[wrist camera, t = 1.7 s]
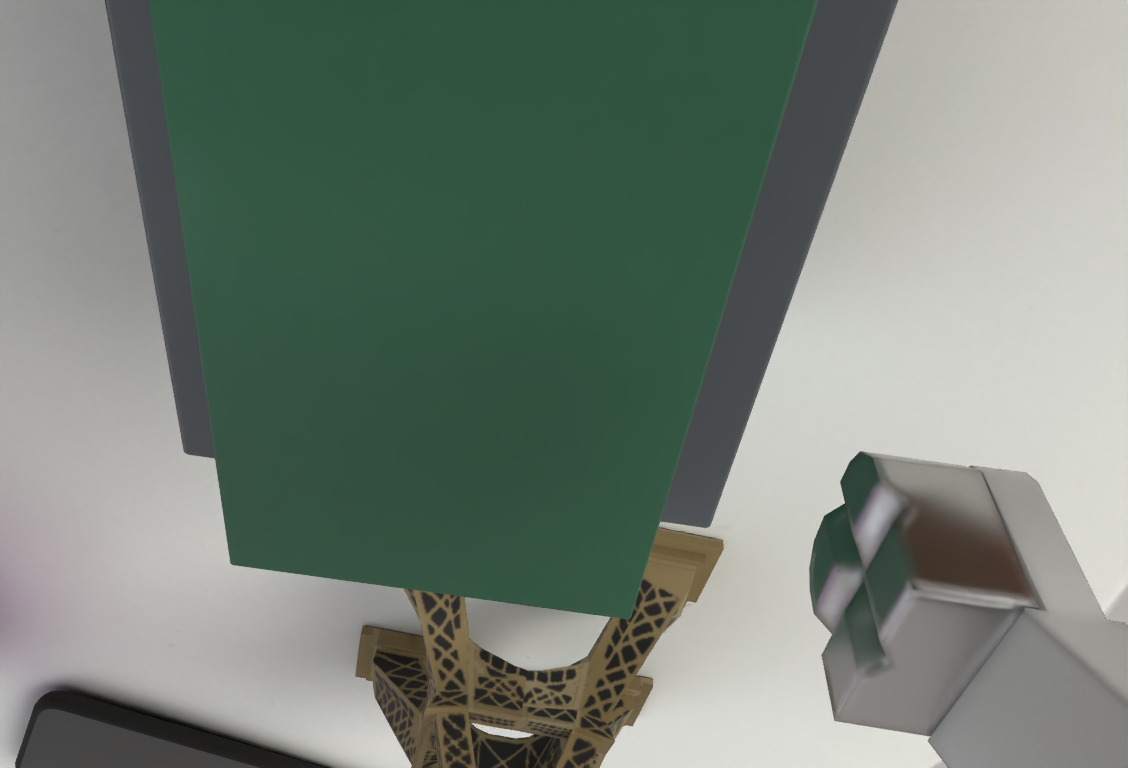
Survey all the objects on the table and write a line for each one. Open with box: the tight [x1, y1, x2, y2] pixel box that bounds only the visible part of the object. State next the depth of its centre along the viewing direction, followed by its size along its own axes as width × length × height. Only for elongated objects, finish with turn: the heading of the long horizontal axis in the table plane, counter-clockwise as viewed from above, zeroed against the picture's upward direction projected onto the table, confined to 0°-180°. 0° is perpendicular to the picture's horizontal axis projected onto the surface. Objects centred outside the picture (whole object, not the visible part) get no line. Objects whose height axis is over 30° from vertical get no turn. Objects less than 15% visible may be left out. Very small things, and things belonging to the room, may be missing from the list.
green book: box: [148, 0, 818, 619], centre depth 12 cm, size 13×6×2 cm, turn 172°
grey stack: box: [105, 0, 898, 528], centre depth 15 cm, size 14×10×8 cm
